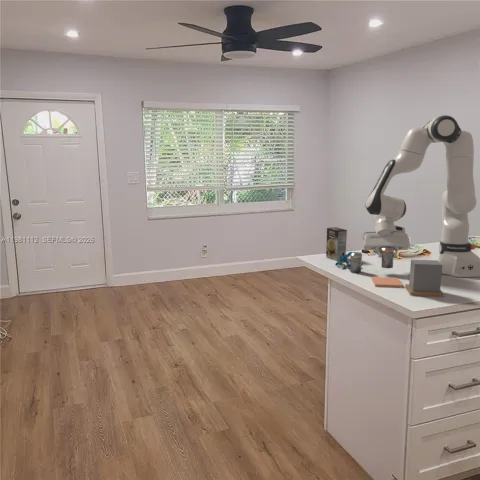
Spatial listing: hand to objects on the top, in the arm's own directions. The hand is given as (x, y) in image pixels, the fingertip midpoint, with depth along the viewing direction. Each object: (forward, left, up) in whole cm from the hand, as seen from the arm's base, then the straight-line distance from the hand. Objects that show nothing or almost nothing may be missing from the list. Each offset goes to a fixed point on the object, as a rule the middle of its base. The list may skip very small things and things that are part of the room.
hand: (387, 256), depth 194 cm
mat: (+2, +14, -8) cm, 16 cm away
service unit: (-10, +24, -8) cm, 28 cm away
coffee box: (+22, -29, -9) cm, 37 cm away
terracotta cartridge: (0, -1, -5) cm, 5 cm away
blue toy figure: (+19, -13, -9) cm, 24 cm away
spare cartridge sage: (+14, -3, -8) cm, 16 cm away
